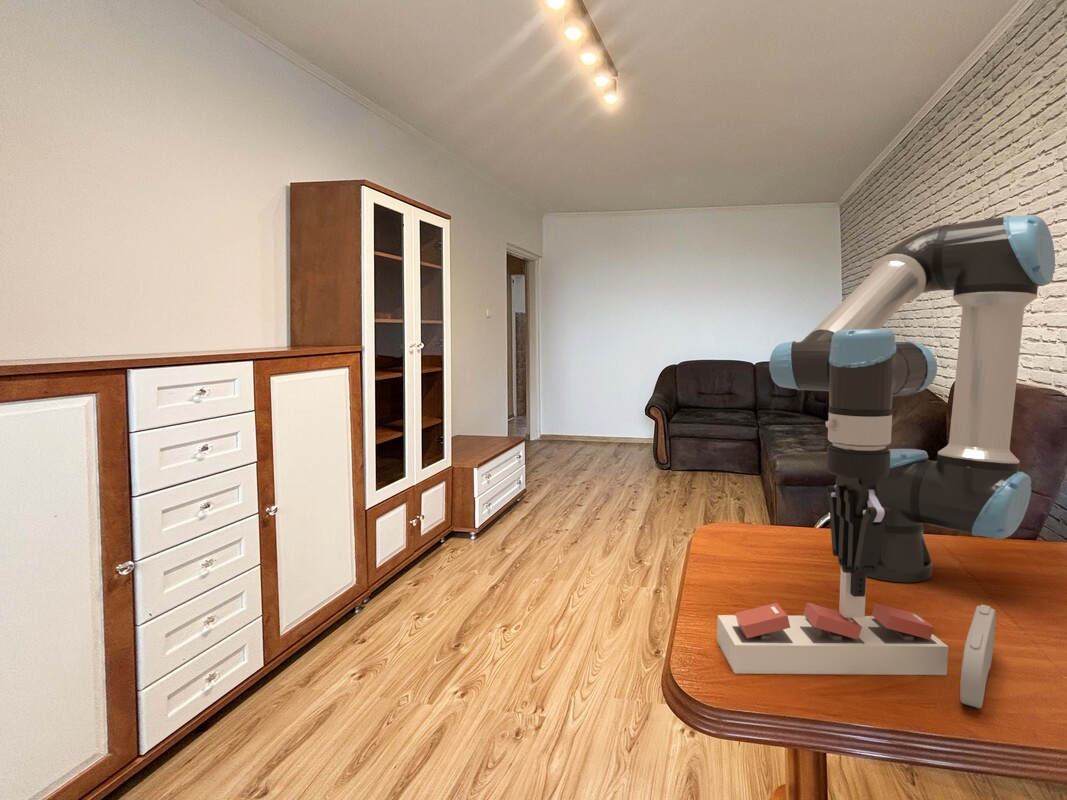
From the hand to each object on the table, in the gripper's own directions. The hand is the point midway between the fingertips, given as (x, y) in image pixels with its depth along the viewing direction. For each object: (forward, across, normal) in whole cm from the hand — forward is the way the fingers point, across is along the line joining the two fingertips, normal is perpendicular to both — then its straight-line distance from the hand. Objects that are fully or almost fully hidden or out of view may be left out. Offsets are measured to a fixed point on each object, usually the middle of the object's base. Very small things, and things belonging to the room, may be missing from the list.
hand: (851, 614), depth 86 cm
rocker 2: (+1, 0, -3) cm, 3 cm away
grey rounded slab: (+7, +4, +14) cm, 17 cm away
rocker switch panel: (+7, -2, -3) cm, 8 cm away
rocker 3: (+1, 0, +7) cm, 7 cm away
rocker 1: (+1, 0, -12) cm, 12 cm away
